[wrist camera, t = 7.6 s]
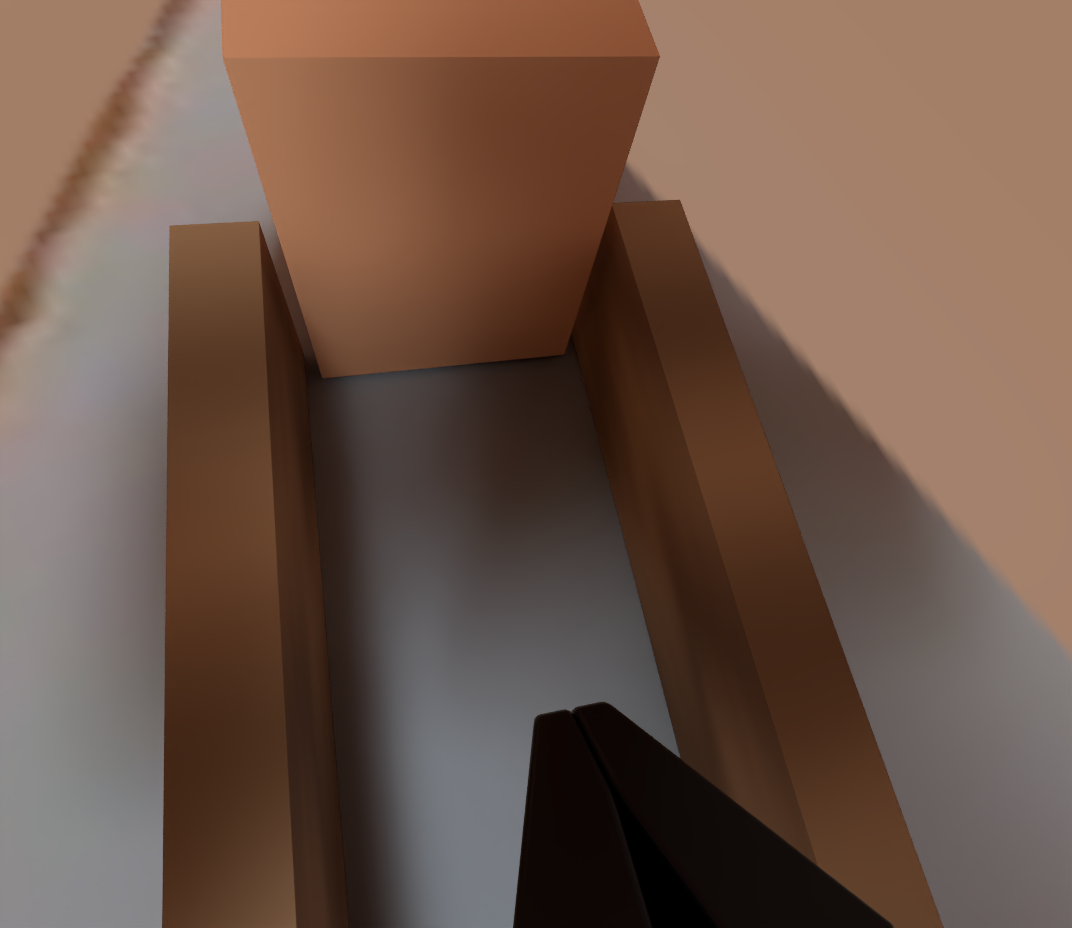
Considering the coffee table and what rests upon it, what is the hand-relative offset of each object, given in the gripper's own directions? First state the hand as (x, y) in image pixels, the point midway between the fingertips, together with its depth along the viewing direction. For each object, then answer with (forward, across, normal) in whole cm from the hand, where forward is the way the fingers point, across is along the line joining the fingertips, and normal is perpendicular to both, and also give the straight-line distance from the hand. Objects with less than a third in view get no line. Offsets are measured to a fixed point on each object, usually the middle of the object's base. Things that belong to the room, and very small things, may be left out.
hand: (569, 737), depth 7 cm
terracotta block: (+13, 0, -4) cm, 13 cm away
